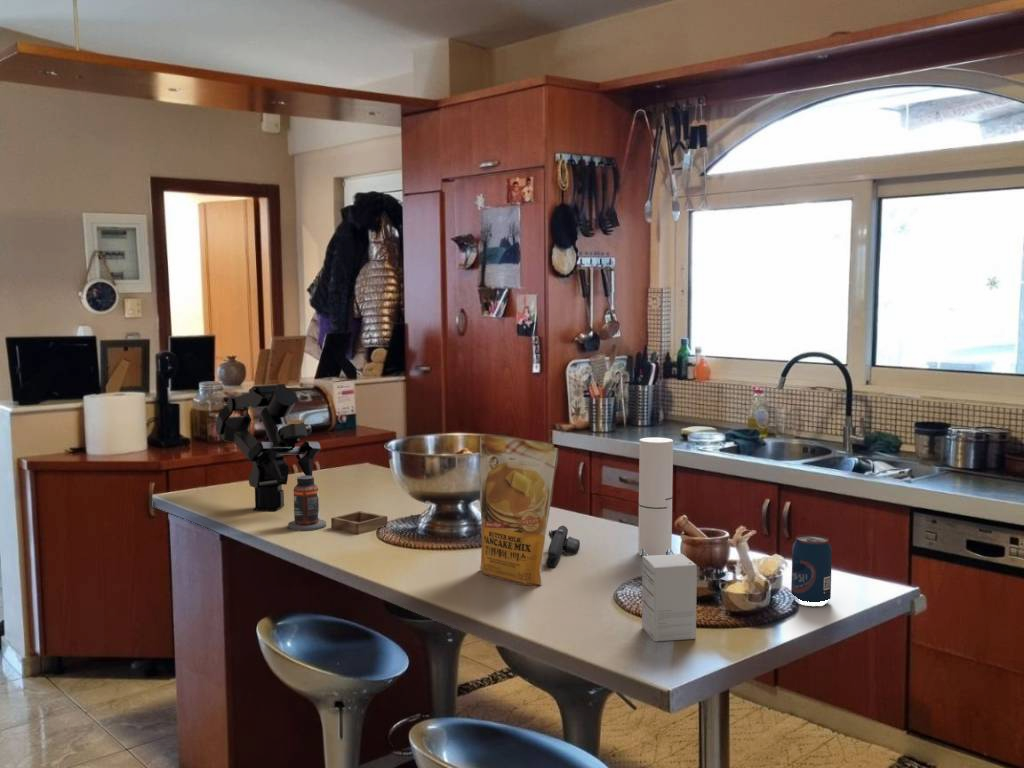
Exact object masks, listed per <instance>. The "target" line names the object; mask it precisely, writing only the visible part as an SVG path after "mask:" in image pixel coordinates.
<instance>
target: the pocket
mask: <svg viewBox="0 0 1024 768" xmlns="http://www.w3.org/2000/svg"><path fill="white" fill-rule="evenodd" d="M330 521H331V524H330V525H331V526H330V527H331V529H332V530H337V531H342V532H347V533H350V534H351V533H352V534H357V535H361V534H364V533H368V532H372V531H376V529H377V530H379V529H378V528H380V527H382V526H386V525H388V516H387V515H383V514H377V513H371V512H365V511H361V510H360V511H355V512H351V513H347V514H343V515H338V516H335V517H331V518H330ZM388 526H389V525H388ZM380 529H381V528H380Z"/></svg>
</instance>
